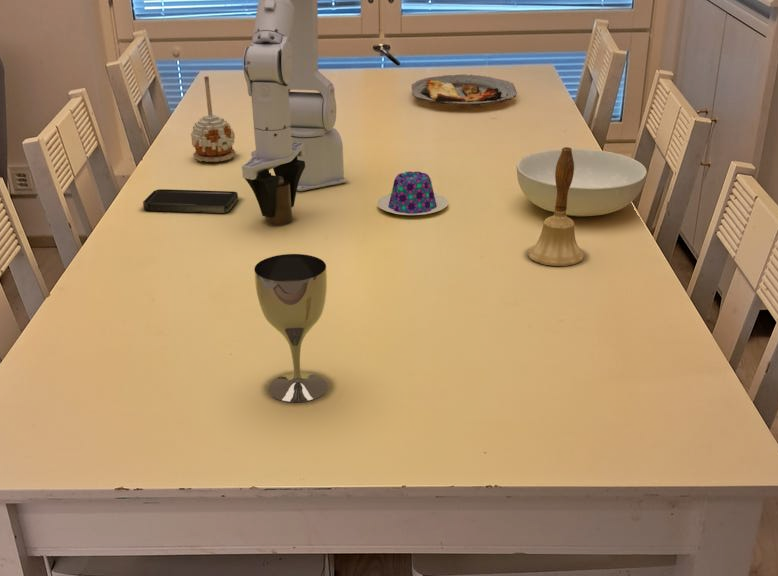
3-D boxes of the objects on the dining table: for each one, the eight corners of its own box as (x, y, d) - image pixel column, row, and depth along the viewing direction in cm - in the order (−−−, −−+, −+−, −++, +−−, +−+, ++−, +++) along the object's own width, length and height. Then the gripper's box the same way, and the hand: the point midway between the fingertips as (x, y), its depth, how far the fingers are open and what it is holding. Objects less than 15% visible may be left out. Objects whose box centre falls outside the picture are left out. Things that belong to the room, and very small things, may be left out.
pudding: (362, 208, 172) (361, 177, 169) (408, 190, 179) (409, 160, 176) (416, 224, 165) (416, 192, 162) (462, 205, 172) (463, 174, 169)
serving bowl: (564, 239, 159) (568, 195, 155) (490, 200, 174) (492, 159, 170) (668, 215, 166) (674, 173, 163) (588, 180, 182) (592, 141, 178)
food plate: (521, 112, 221) (522, 95, 219) (413, 114, 221) (413, 97, 219) (509, 84, 241) (510, 68, 239) (410, 86, 242) (410, 70, 240)
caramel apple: (209, 167, 193) (200, 83, 184) (186, 158, 198) (176, 76, 189) (243, 158, 197) (235, 76, 188) (220, 150, 202) (212, 69, 193)
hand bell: (587, 248, 155) (599, 142, 146) (578, 269, 149) (590, 158, 140) (533, 243, 158) (541, 137, 149) (522, 263, 151) (530, 154, 142)
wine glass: (264, 373, 124) (254, 255, 116) (329, 370, 125) (324, 252, 116) (264, 406, 118) (253, 283, 109) (333, 402, 118) (328, 279, 110)
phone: (155, 189, 179) (239, 191, 177) (156, 195, 179) (239, 197, 177) (140, 204, 172) (227, 206, 170) (141, 210, 173) (227, 213, 171)
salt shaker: (285, 214, 171) (282, 172, 167) (296, 222, 167) (294, 179, 163) (261, 219, 169) (257, 176, 165) (272, 227, 166) (269, 184, 162)
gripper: (278, 111, 166) (283, 194, 174) (223, 134, 156) (231, 220, 164) (314, 117, 163) (318, 200, 171) (260, 140, 153) (267, 228, 161)
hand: (278, 211), depth 167 cm, fingers open, 5 cm apart
